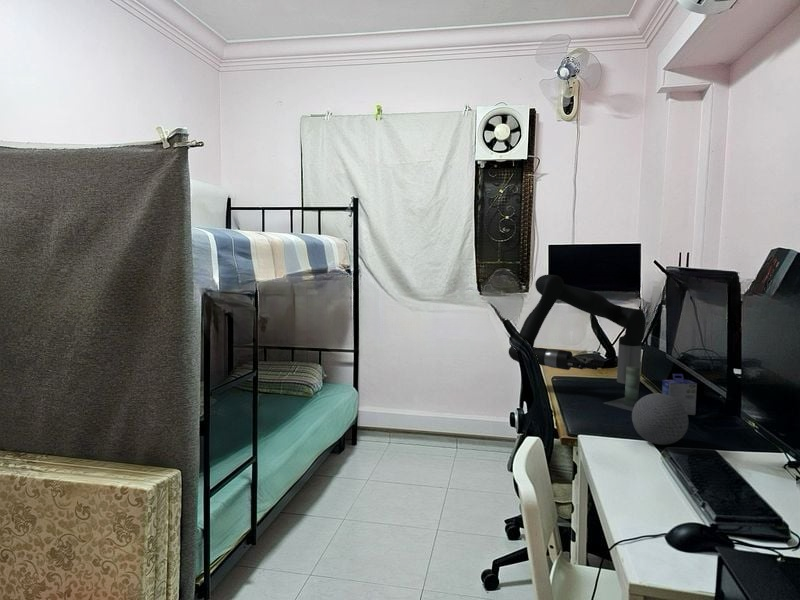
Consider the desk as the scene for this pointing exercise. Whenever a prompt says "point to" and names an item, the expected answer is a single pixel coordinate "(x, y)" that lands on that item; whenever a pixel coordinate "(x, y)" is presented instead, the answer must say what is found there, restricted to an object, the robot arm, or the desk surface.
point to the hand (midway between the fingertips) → (600, 365)
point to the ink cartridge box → (681, 392)
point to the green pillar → (632, 385)
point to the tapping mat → (620, 404)
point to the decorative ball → (660, 419)
